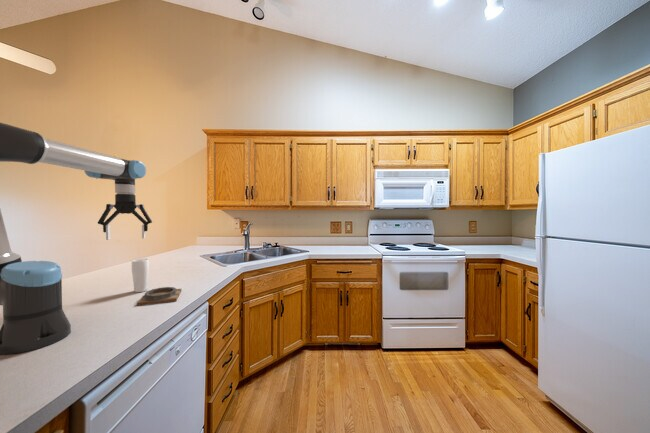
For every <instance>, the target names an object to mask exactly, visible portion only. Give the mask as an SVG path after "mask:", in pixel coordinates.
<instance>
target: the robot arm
mask: <svg viewBox="0 0 650 433" xmlns="http://www.w3.org/2000/svg"><path fill="white" fill-rule="evenodd" d="M0 162H1V163H2V162H3V163H4V162H6V163H7V162H8V163H11V162H13V163H21V164H23V163H24V164H28V165H35V164H37V163H42V164H46V165H47V164H48V165H52V166H59V167H65V168H70V169H75V170H80V171H84V173H85V175H86V176H88V178H94V179H96V180H97V179H100V180H102V179H103V180H110V181H111V180H113V181H114V193H115V195H114V204H111V203H107V204H106V206H105V209H104V211H103V213H102V214H101V215H100V217H99V220H98V221H97V224H98V225H101V226H102V229H103V230H102V232H103V233H105V240H107V241H108V240H111V224H110V223H111V222H112V221H113V220H114V219H115V218H116V217H118V215H120V214H121V215H123V214H124V215H125V214H127V215H129V214H131V215H133V216H135V217H136V218H137V219H138V220H139V221H140V222H141V223H142V224H141V239H146V232H148V228H149V227H148V226H149V224H152V223H153V221H152V218H150V215H149V214H148V212H147V211H146V209H145V205H144V204H136V202H137V201H136V200H137V199H136V195H135V194H136V180H137V179H142V178H144V177H145V175H146V174H147V167H146V166H145V164H144V163H143V162H142V161H140V160H134V159H133V160H131V159H130V160H128V159H124V158H120V157H116V156H113V155H109V154H105V153H102V152H98V151H94V150H91V149H86V148H83V147H79V146H75V145H72V144H67V143H63V142H60V141H56V140H53V139H49V138H45V137H43V135H42V134H40V133H39V132H35V131H33V130H29V129H26V128H25V129H24V128H21V127H19V126H14V125H11V124H7V123H3V122H0ZM113 208H114V209H115V210H114V212H113V213H112V214H111V215H110V216H109V217H108V215H109V214H110V212H111V211H112V209H113ZM137 208H138V210H140V212H141V213H142V215H143V217H142V216H141V215H140V214H139V212H138V211H136V209H137ZM3 217H4V216H3V214H2V210H1V209H0V306H2V315H3V316H2V318H3V321H2V324H1V326H0V355H12V354H14V355H15V354H19V353H26V352H30V351H33V350H37V349H40V348H44V347H47V346H49V345H52V344H54V343H57V342H59V341H62V340H63V339H65V338H66V337H68V336H69V335H70V334H71V332H72V328H71V326H72V325H71V323H70V320H69V319H68V317H67V316H66V313H65V312H64V310H63V286H62V285H63V284H62V283H63V282H62V281H63V280H62V278H63V273H62V268H61V266H60V264H58V263H56V262H54V261H50V260H49V261H48V260H27V261H23V260H22V257H21V255H20V254H18V253H16V252H13V251H12V249H11V244H10V240H9V237H8V233H7V229H6V225H5V221H4V218H3ZM107 217H108V218H107Z"/></svg>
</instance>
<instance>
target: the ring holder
mask: <svg viewBox="0 0 650 433" xmlns="http://www.w3.org/2000/svg"><path fill="white" fill-rule="evenodd" d="M181 293H182V288H176V287H173V286H164V287H158V288H152V289H150V290H149V289H148V290H146V291H145V293H144V295H143V296H142V297H141V298H140V299H139V300H138V301H137V303H136V305H137V306H138V307H139V306H145V305H146V306H147V305H155V304H164V303H165V304H166V303H173V302H177V301H178V300H179V299H178V298H179V297H180V295H181Z"/></svg>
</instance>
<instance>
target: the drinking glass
mask: <svg viewBox="0 0 650 433" xmlns="http://www.w3.org/2000/svg"><path fill="white" fill-rule="evenodd" d="M131 273H132V274H131V275H132V282H133V292H134V293H143V292H147V291H148V290H149V289H148V288H149V286H148V285H149V275H150V274H149V273H150V259H149V258H137V259H133V260H131Z"/></svg>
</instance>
